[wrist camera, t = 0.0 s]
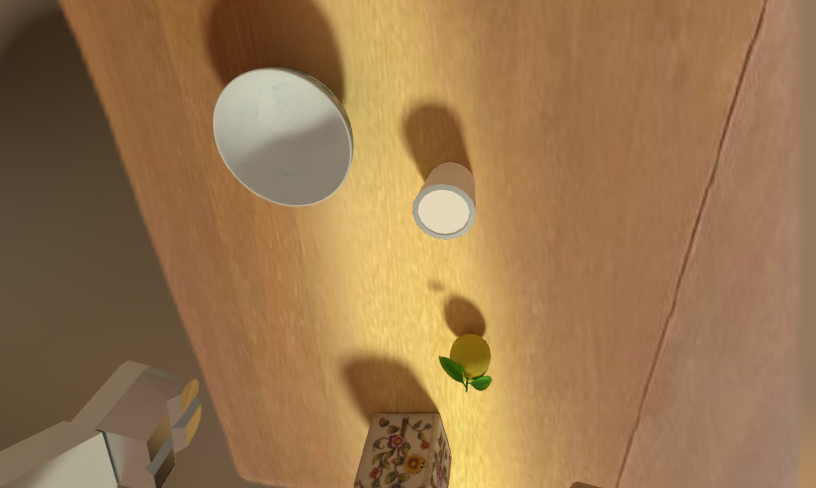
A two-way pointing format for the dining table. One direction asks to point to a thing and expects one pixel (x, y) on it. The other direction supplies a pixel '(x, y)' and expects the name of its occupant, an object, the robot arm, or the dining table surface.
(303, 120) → the chinaware
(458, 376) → the lemon
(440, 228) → the shot glass
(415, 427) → the decorative jar
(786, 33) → the dining table surface
